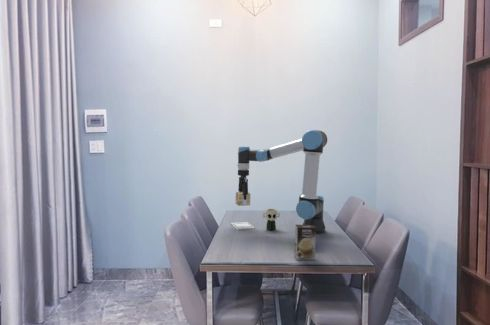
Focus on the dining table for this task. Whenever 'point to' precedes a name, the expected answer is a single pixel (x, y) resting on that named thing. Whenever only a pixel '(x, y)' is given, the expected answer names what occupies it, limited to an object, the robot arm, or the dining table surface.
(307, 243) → the coffee box
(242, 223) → the white flat piece
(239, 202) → the wooden plinth
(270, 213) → the character mug
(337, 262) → the dining table surface
